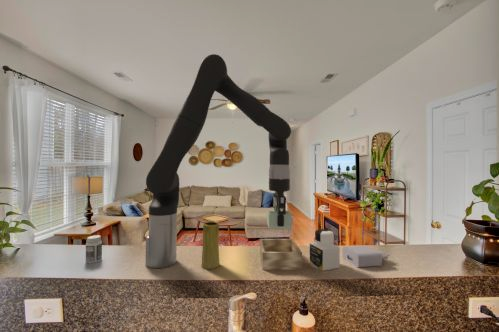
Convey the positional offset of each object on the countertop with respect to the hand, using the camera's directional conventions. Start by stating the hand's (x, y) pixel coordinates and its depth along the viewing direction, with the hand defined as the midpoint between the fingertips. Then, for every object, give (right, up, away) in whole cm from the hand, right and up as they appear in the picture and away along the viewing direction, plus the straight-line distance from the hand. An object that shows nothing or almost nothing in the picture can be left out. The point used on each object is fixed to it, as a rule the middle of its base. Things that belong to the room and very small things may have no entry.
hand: (279, 223), depth 81 cm
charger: (+32, -14, 0) cm, 35 cm away
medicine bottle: (+15, -14, -4) cm, 21 cm away
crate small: (0, -1, 0) cm, 1 cm away
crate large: (0, -13, 0) cm, 13 cm away
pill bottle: (-66, -13, -1) cm, 67 cm away
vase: (-24, -13, -5) cm, 28 cm away
